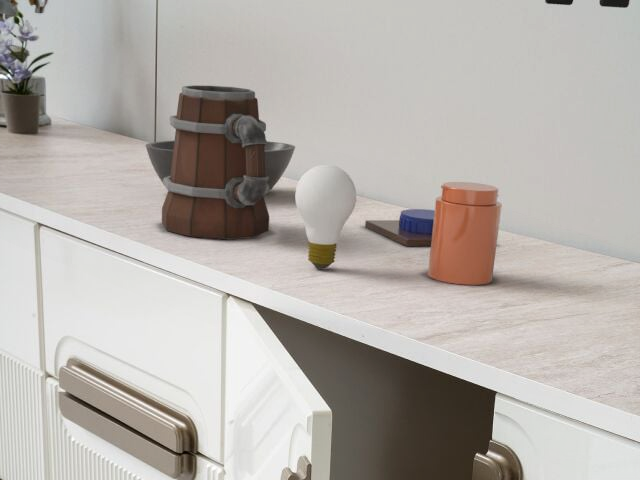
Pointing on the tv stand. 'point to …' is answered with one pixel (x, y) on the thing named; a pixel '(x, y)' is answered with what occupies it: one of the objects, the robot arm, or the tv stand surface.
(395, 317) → the tv stand surface
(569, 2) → the robot arm
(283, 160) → the bowl
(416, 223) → the lid
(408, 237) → the plate
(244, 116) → the mug
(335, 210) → the light bulb
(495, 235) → the jar
